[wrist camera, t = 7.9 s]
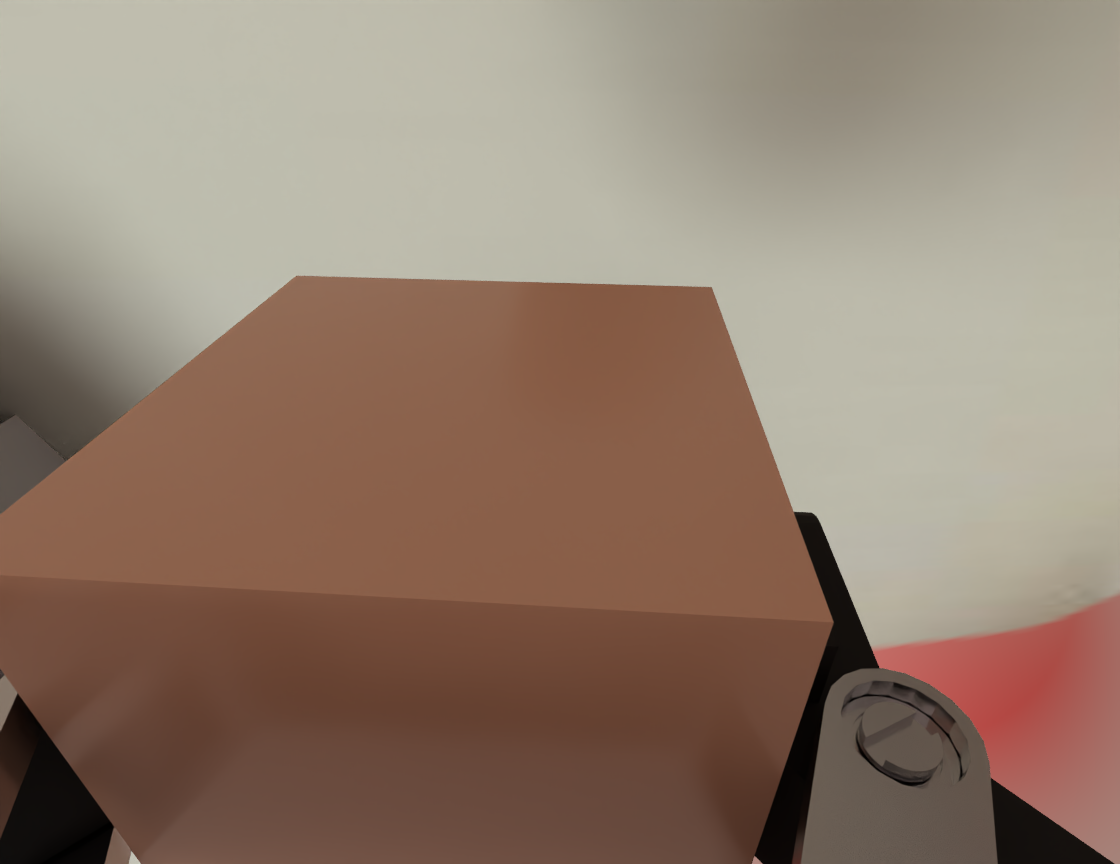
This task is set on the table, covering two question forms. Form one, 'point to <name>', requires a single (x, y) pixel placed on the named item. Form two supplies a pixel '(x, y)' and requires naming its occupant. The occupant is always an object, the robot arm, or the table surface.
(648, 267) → the table surface
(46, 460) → the file organizer
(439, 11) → the table surface
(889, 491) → the table surface
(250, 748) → the terracotta cube
